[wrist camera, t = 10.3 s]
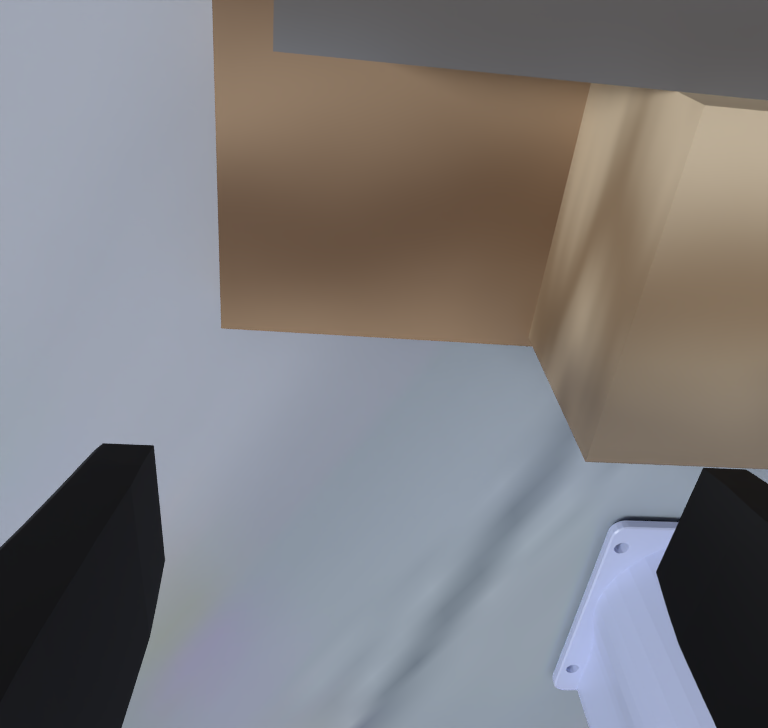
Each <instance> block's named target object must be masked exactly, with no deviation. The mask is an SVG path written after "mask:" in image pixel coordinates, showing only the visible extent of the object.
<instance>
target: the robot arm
mask: <svg viewBox="0 0 768 728" xmlns="http://www.w3.org/2000/svg"><path fill="white" fill-rule="evenodd" d="M620 543H621V544H620ZM618 544H619V545H618ZM164 562H165V556H164V546H163V535H162V525H161V515H160V505H159V495H158V484H157V474H156V464H155V454H154V446H153V445H129V444H104V443H103V444H102V445H101V446H99V447H98V448H97V449H96V450H94V452H93V453H92V454H91V455H90V456H89V457H88V458H87V459H86V460H85V461H84V462H83V463H82V464H81V465H80V466H79V467H78V468H77V469H76V470H75V472H74V473H73V474H72V475H71V476H70V477H69V478H68V479H67V480H66V481H65V482H64V483H63V484H62V485H61V486H60V487H59V488H58V489H57V491H56V492H55V493H54V494H53V495H52V496H51V497H50V498H49V499H48V500H47V501H46V502H45V503H44V504H43V505H42V506H41V507H40V508H39V509H38V510H37V511H36V512H35V513H34V514H33V515H32V516H31V517H30V518H29V519H28V520H27V521H26V522H25V524H24V525H23V526H22V527H21V528H20V529H18V530H17V531H16V532H15V533H14V534H13V535H12V536H11V537H10V538H9V539H8V540H7V541H6V542H5V543H4V544H3V545H2V546H1V547H0V728H121V727H122V724H123V721H124V718H125V715H126V711H127V708H128V705H129V702H130V699H131V696H132V693H133V689H134V686H135V683H136V680H137V677H138V673H139V670H140V667H141V664H142V661H143V657H144V654H145V651H146V648H147V644H148V641H149V638H150V633H151V629H152V624H153V619H154V614H155V609H156V604H157V599H158V594H159V589H160V583H161V578H162V573H163V568H164ZM552 679H553V682H554V685H555V687H556V688H558V689H560V690H578V693H579V696H580V700H581V703H582V706H583V709H584V712H585V716H586V719H587V722H588V725H589V728H768V484H767V483H766V482H764V481H763V480H761V479H760V478H758V477H757V476H755V475H754V474H752V473H751V472H749V471H747V470H743V469H719V468H703V470H702V472H701V474H700V476H699V478H698V481H697V483H696V485H695V487H694V489H693V492H692V494H691V496H690V498H689V500H688V503H687V505H686V507H685V509H684V511H683V514H682V516H681V518H680V520H679V522H657V521H626V520H625V521H619V522H617V523H615V524H613V525H612V526H611V527H610V529H609V530H608V533H607V536H606V538H605V541H604V543H603V546H602V549H601V551H600V554H599V556H598V559H597V562H596V564H595V567H594V569H593V572H592V575H591V577H590V580H589V582H588V585H587V588H586V590H585V593H584V595H583V598H582V601H581V603H580V606H579V608H578V611H577V614H576V616H575V619H574V621H573V624H572V627H571V629H570V632H569V634H568V637H567V640H566V642H565V645H564V647H563V650H562V653H561V655H560V658H559V660H558V663H557V666H556V668H555V671H554V673H553V677H552Z"/></svg>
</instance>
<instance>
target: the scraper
mask: <svg viewBox="0 0 768 728" xmlns="http://www.w3.org/2000/svg"><path fill="white" fill-rule="evenodd" d="M273 51H274V52H284V53H294V54H304V55H314V56H324V57H335V58H345V59H355V60H365V61H375V62H385V63H395V64H405V65H415V66H425V67H436V68H446V69H456V70H466V71H476V72H486V73H496V74H506V75H516V76H526V77H537V78H547V79H557V80H567V81H577V82H587V83H591V85H590V89H589V93H588V97H587V101H586V105H585V109H584V114H583V118H582V122H581V126H580V130H579V134H578V138H577V142H576V146H575V150H574V154H573V158H572V162H571V166H570V170H569V175H568V179H567V183H566V187H565V191H564V195H563V199H562V203H561V207H560V211H559V215H558V219H557V223H556V227H555V232H554V236H553V240H552V244H551V248H550V252H549V256H548V260H547V264H546V268H545V272H544V276H543V280H542V284H541V288H540V293H539V297H538V301H537V305H536V309H535V313H534V317H533V321H532V325H531V329H530V333H529V337H528V338H529V340H530V342H531V344H532V346H533V349H534V351H535V353H536V355H537V357H538V359H539V362H540V364H541V366H542V368H543V370H544V372H545V375H546V377H547V379H548V381H549V383H550V385H551V388H552V390H553V392H554V394H555V396H556V398H557V401H558V403H559V405H560V407H561V409H562V412H563V414H564V416H565V418H566V420H567V422H568V425H569V427H570V429H571V431H572V433H573V435H574V438H575V440H576V442H577V444H578V446H579V448H580V451H581V453H582V455H583V457H584V459H585V461H586V462H605V463H629V464H654V465H679V466H704V467H728V468H753V469H768V0H274V18H273Z"/></svg>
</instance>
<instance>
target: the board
mask: <svg viewBox="0 0 768 728" xmlns="http://www.w3.org/2000/svg"><path fill="white" fill-rule="evenodd" d="M212 9H213V45H214V81H215V117H216V153H217V190H218V226H219V262H220V298H221V328H226V329H243V330H260V331H277V332H294V333H311V334H329V335H346V336H363V337H380V338H397V339H414V340H431V341H449V342H466V343H483V344H500V345H517V346H532V344H531V342H530V340H529V338H528V337H529V333H530V329H531V325H532V321H533V317H534V313H535V309H536V305H537V301H538V297H539V293H540V288H541V284H542V280H543V276H544V272H545V268H546V264H547V260H548V256H549V252H550V248H551V244H552V240H553V236H554V232H555V227H556V223H557V219H558V215H559V211H560V207H561V203H562V199H563V195H564V191H565V187H566V183H567V179H568V175H569V170H570V166H571V162H572V158H573V154H574V150H575V146H576V142H577V138H578V134H579V130H580V126H581V122H582V118H583V114H584V109H585V105H586V101H587V97H588V93H589V89H590V85H591V83H587V82H577V81H567V80H557V79H547V78H537V77H526V76H516V75H506V74H496V73H486V72H476V71H466V70H456V69H446V68H436V67H425V66H415V65H405V64H395V63H385V62H375V61H365V60H355V59H345V58H335V57H324V56H314V55H304V54H294V53H284V52H274V51H273V18H274V0H212Z"/></svg>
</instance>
